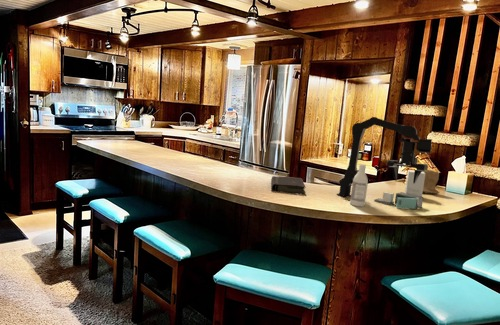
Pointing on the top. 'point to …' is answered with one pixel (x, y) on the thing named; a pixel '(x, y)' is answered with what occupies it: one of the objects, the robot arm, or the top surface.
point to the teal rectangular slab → (406, 203)
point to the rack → (406, 195)
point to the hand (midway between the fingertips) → (404, 182)
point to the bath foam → (359, 187)
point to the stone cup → (430, 182)
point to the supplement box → (418, 186)
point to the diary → (288, 184)
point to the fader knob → (388, 196)
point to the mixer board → (383, 201)
